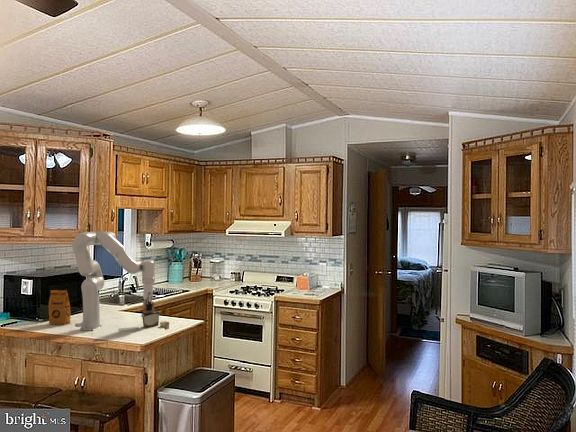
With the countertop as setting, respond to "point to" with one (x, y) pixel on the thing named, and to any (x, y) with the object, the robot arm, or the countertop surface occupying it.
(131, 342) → the countertop surface
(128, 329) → the parts board
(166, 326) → the oak block
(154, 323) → the food container
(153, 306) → the walnut block
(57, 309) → the coffee package
